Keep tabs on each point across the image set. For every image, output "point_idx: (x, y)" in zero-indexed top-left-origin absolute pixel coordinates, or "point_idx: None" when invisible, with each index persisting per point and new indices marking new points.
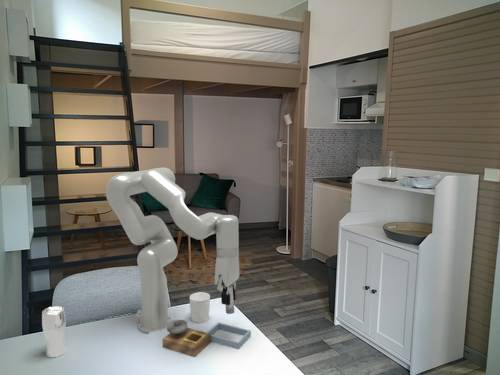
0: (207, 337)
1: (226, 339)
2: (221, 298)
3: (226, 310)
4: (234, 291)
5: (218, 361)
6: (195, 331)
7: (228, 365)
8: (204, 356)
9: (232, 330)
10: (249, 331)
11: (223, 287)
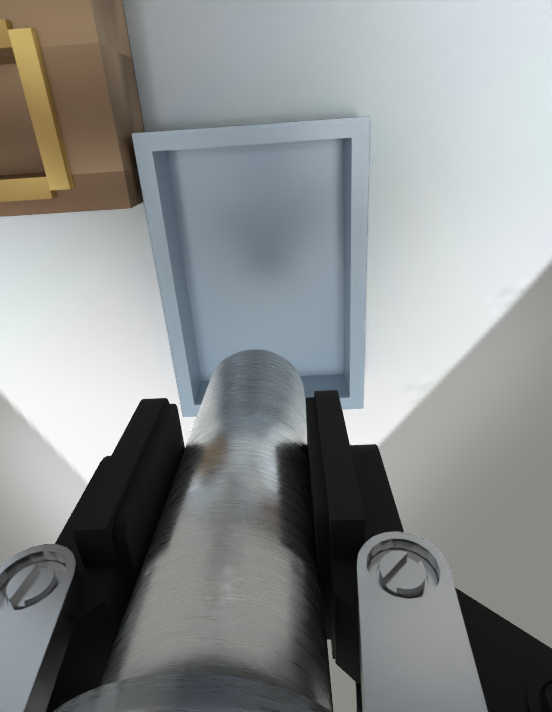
0: (78, 210)
1: (173, 331)
2: (118, 446)
3: (206, 392)
4: (331, 632)
5: (48, 341)
6: (71, 39)
7: (59, 402)
8: (25, 241)
9: (346, 268)
10: (348, 406)
11: (44, 706)
